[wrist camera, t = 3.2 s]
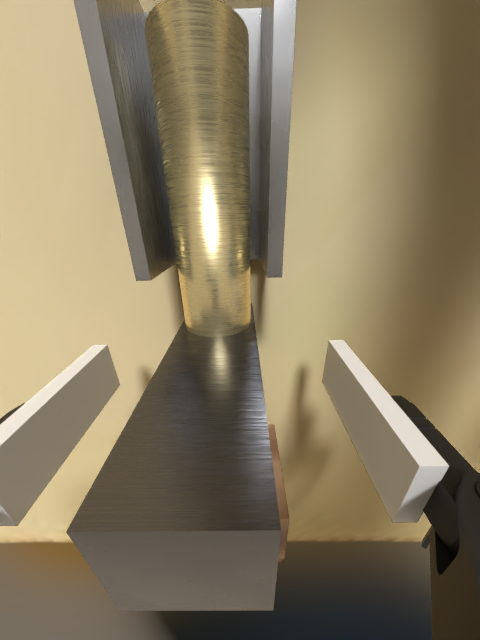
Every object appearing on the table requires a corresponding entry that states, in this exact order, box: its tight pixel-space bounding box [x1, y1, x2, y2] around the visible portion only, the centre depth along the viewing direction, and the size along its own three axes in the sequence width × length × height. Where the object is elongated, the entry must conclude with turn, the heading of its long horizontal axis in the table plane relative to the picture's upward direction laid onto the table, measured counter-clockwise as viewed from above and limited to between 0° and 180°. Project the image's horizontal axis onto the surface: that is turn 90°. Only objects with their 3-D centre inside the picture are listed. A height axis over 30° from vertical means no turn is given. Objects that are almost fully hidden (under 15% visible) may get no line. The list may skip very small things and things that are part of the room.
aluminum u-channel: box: [74, 0, 297, 281], centre depth 10 cm, size 10×6×6 cm, turn 1°
